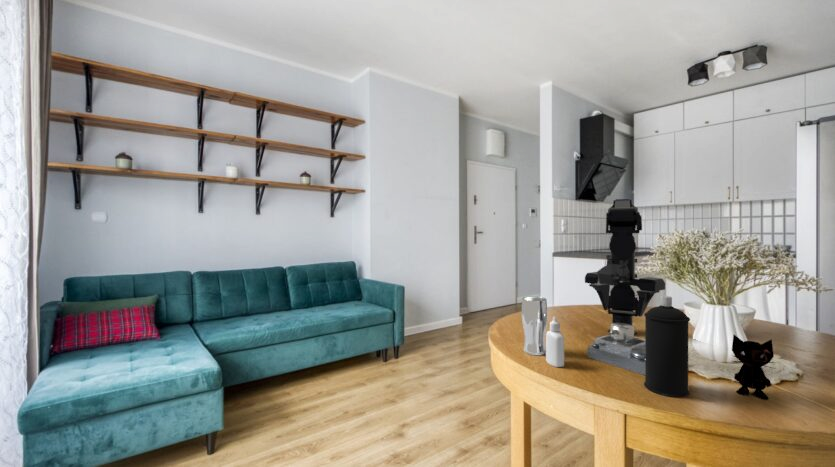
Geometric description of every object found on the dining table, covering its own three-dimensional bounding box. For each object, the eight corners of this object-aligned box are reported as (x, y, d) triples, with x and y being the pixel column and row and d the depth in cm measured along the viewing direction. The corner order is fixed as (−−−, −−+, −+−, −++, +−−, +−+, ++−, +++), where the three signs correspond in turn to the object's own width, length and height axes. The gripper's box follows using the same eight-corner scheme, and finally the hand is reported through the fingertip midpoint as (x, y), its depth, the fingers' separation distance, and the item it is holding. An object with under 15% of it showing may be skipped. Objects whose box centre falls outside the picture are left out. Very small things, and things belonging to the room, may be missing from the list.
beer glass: (544, 348, 109) (544, 296, 109) (550, 356, 102) (550, 301, 102) (519, 347, 110) (519, 296, 110) (524, 355, 103) (523, 301, 103)
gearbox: (616, 347, 109) (616, 332, 109) (678, 364, 95) (678, 346, 95) (587, 357, 101) (587, 340, 101) (650, 377, 88) (650, 357, 88)
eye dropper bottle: (563, 360, 99) (563, 315, 99) (564, 368, 94) (564, 320, 93) (545, 359, 100) (545, 314, 100) (545, 366, 95) (545, 319, 95)
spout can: (617, 341, 105) (617, 321, 105) (638, 346, 100) (638, 325, 100) (600, 346, 101) (600, 326, 101) (621, 352, 96) (621, 330, 96)
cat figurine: (729, 394, 78) (730, 337, 78) (729, 384, 84) (730, 330, 83) (776, 404, 74) (777, 343, 73) (773, 392, 79) (774, 335, 79)
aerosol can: (691, 401, 76) (691, 302, 75) (643, 392, 80) (643, 298, 80) (688, 386, 83) (688, 295, 82) (644, 378, 87) (644, 292, 87)
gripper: (572, 254, 104) (572, 310, 104) (643, 258, 88) (643, 325, 89) (596, 252, 110) (596, 305, 110) (666, 256, 94) (666, 318, 95)
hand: (622, 313), depth 101 cm, fingers open, 9 cm apart
